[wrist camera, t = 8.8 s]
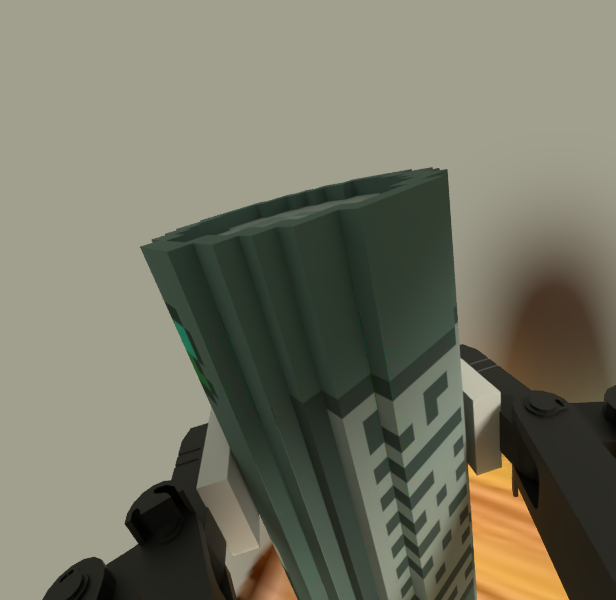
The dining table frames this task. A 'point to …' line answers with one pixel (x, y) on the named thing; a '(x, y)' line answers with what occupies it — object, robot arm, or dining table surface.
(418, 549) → the can
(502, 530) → the dining table surface
